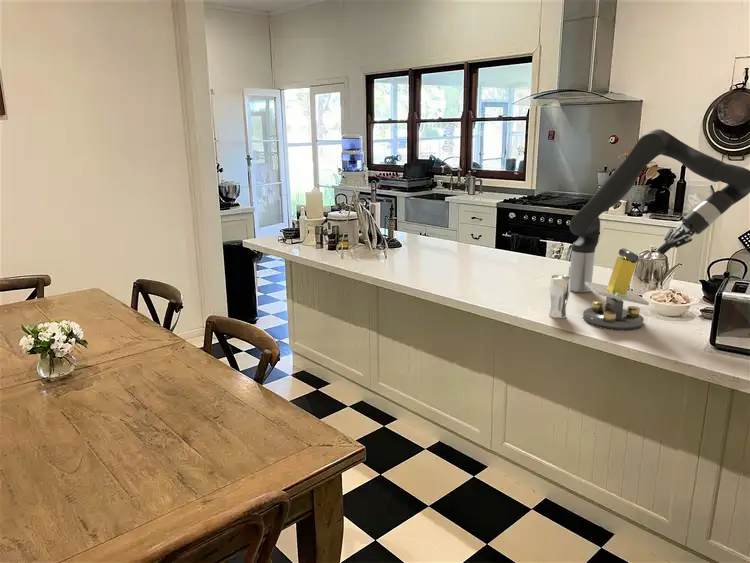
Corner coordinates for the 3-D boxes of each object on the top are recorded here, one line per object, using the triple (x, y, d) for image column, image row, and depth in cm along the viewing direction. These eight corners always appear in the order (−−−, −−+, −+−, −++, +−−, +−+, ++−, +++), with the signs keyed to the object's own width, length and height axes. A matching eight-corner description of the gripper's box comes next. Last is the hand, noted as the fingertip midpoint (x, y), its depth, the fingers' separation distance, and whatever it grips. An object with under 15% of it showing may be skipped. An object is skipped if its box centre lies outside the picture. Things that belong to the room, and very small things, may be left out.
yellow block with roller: (584, 283, 202) (597, 242, 198) (632, 293, 203) (646, 252, 198) (597, 294, 189) (612, 250, 185) (648, 305, 189) (664, 261, 185)
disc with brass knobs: (575, 311, 209) (578, 287, 206) (629, 312, 208) (632, 287, 205) (593, 330, 189) (596, 303, 187) (652, 330, 188) (656, 304, 186)
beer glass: (544, 313, 207) (547, 274, 203) (562, 312, 208) (566, 274, 204) (552, 319, 200) (555, 279, 196) (570, 318, 201) (574, 279, 197)
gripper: (684, 207, 193) (644, 241, 197) (704, 212, 180) (661, 249, 184) (697, 222, 194) (657, 255, 198) (718, 228, 181) (675, 264, 185)
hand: (659, 252), depth 191 cm, fingers closed
